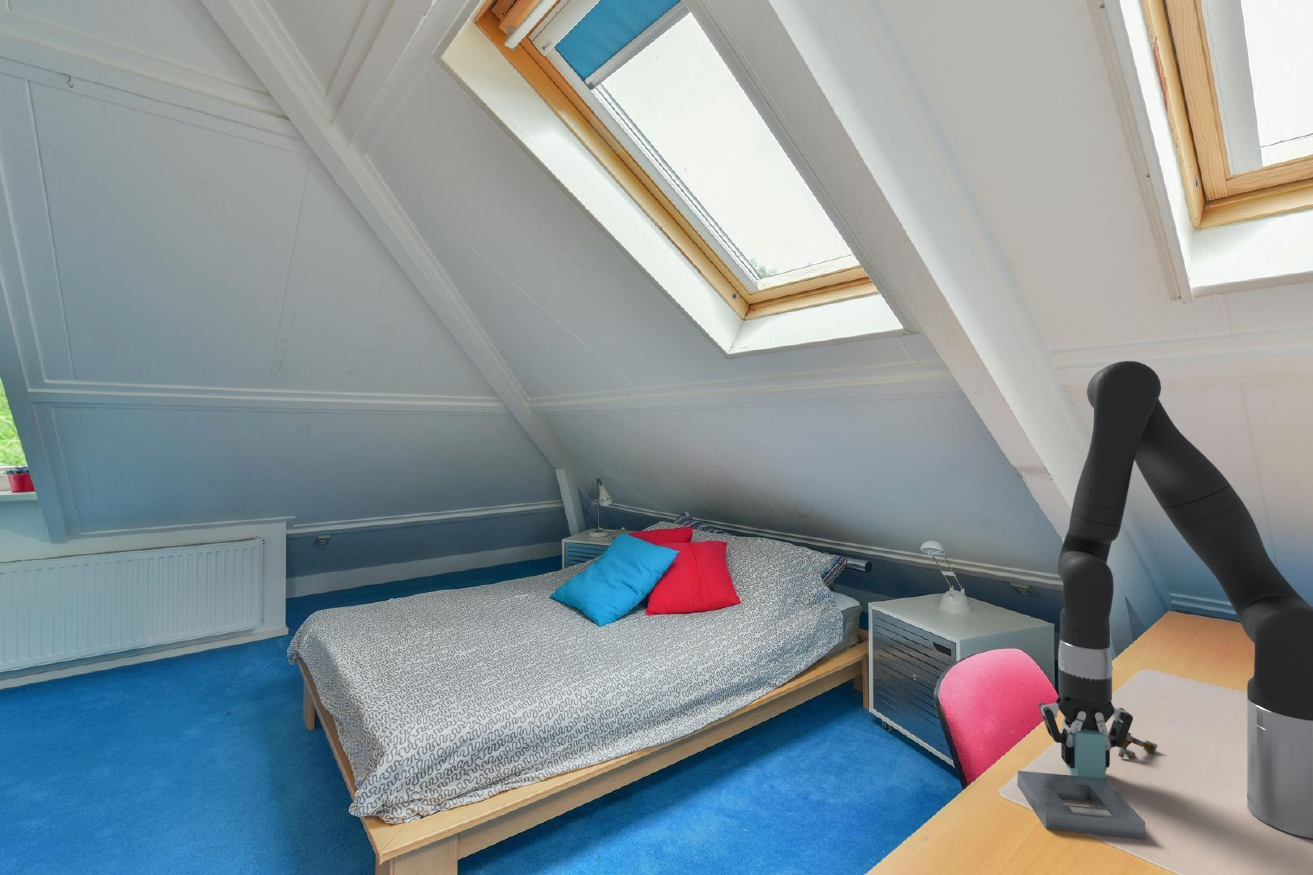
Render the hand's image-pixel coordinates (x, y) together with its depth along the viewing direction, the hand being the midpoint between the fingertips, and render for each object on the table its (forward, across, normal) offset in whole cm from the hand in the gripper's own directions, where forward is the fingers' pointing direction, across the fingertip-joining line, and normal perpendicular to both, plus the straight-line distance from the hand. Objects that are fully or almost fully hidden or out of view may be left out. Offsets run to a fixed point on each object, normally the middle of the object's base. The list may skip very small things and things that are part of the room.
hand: (1085, 766), depth 104 cm
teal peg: (+1, 0, 0) cm, 1 cm away
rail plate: (+1, +6, +11) cm, 13 cm away
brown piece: (+2, -12, -8) cm, 15 cm away
